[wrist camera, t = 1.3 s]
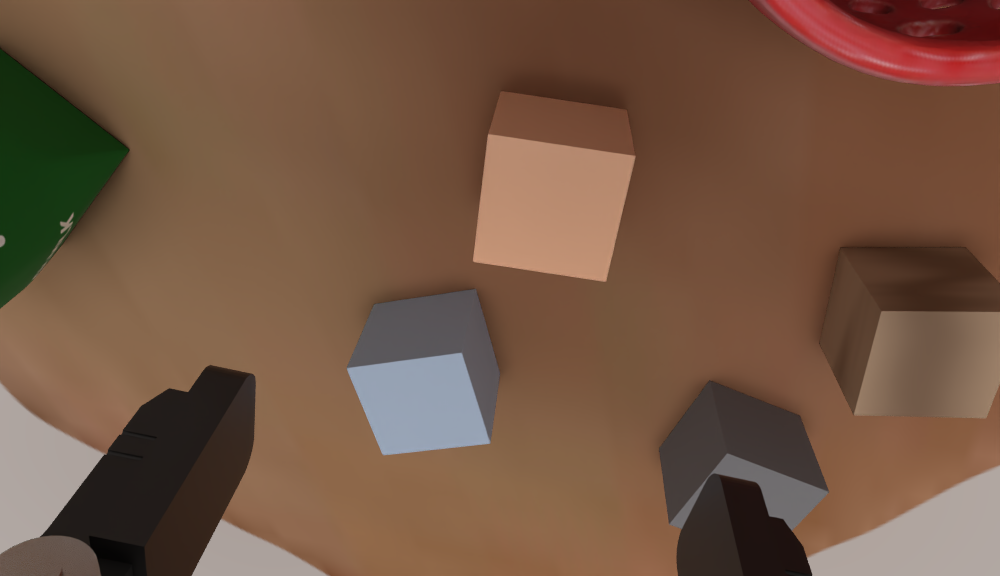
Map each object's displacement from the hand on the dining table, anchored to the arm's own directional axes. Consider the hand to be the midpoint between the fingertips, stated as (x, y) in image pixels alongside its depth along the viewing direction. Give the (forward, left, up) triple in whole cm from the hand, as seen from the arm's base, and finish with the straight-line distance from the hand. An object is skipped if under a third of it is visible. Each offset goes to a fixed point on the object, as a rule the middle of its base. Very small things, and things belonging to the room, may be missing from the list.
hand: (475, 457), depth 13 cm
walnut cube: (-17, +6, -19) cm, 26 cm away
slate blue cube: (+3, +12, -19) cm, 23 cm away
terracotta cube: (-1, +2, -19) cm, 19 cm away
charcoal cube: (-12, +15, -19) cm, 27 cm away
